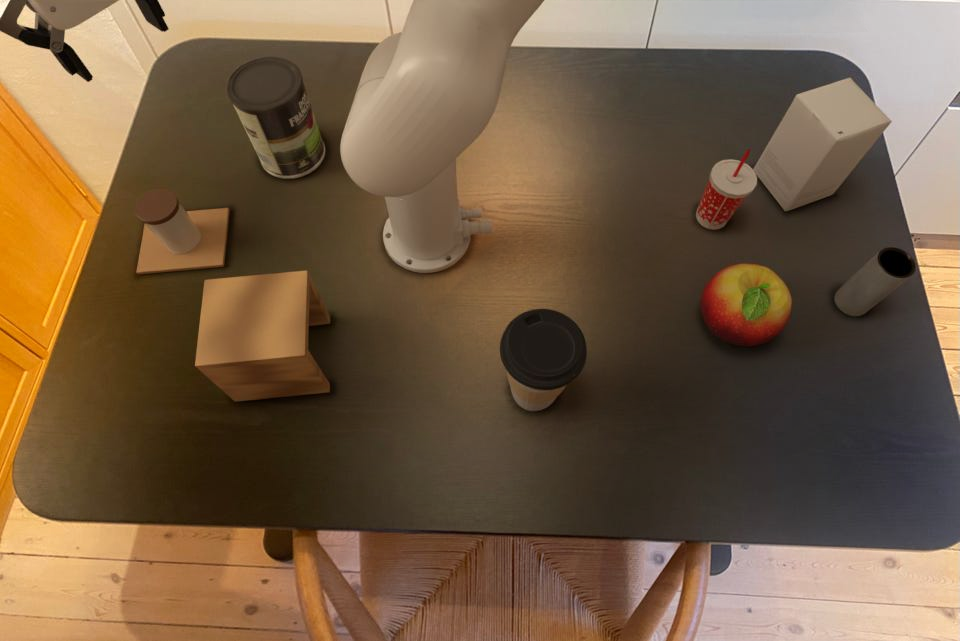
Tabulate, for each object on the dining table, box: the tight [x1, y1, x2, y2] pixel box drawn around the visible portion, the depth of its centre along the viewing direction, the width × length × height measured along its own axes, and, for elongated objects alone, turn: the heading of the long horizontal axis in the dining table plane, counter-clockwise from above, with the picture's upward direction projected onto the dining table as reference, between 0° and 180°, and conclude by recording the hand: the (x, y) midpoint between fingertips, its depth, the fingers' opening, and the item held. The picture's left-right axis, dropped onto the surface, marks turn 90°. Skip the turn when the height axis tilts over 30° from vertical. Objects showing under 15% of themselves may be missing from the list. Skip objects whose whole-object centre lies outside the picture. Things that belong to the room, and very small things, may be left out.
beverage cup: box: [695, 148, 758, 231], centre depth 83 cm, size 6×6×14 cm
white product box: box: [752, 77, 893, 212], centre depth 85 cm, size 9×9×15 cm
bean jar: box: [134, 188, 201, 254], centre depth 83 cm, size 5×5×8 cm
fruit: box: [699, 263, 793, 347], centre depth 77 cm, size 11×11×10 cm
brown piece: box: [194, 270, 331, 403], centre depth 74 cm, size 12×11×12 cm
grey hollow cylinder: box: [833, 246, 917, 317], centre depth 78 cm, size 4×4×10 cm
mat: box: [135, 207, 231, 275], centre depth 87 cm, size 12×10×1 cm
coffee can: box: [225, 56, 326, 180], centre depth 89 cm, size 10×10×14 cm
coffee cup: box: [499, 308, 588, 412], centre depth 70 cm, size 9×9×15 cm
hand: (121, 49), depth 65 cm, fingers open, 9 cm apart
